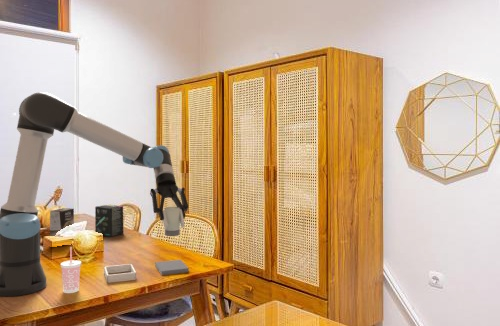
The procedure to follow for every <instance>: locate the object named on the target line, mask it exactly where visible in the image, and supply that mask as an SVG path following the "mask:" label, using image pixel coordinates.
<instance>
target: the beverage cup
mask: <svg viewBox="0 0 500 326" xmlns="http://www.w3.org/2000/svg"><path fill="white" fill-rule="evenodd" d="M69 249H70V251H69V253H70V254H69V255H70V257H69V260H65V261H63V262H61V263H60V267H61V276H62V289H63V293H64V294H73V293H76V292H78V291H80V278H81V277H80V275H81V266H82V261H81V260H78V259H77V260H75V259H73V255H72V254H73V247H72V246H70V247H69Z"/></svg>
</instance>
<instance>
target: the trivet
mask: <svg viewBox="0 0 500 326" xmlns="http://www.w3.org/2000/svg"><path fill="white" fill-rule="evenodd" d="M154 266H155V269H156V270H157V271H158V272H159V273H160V275H161V276H166V275H168V276H169V275H175V274H184V273H189V272H190V270H189V269H190V268H189V267H188V266H187V265H186V264H185V263H184V261H182V260H181V259H173V260H165V261H154Z"/></svg>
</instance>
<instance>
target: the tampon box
mask: <svg viewBox="0 0 500 326" xmlns="http://www.w3.org/2000/svg"><path fill="white" fill-rule="evenodd" d="M94 208H95V209H94V210H95V211H94V213H95V215H94V217H95V219H94V221H95V222H94V223H95V227H94V229H95V230H94V232H98V233H102V234H103V235H104V236H103V237H106V238H107V237H108V238H111V237H115V236H121V235H124V234H125V233H124V206H122V205H114V204H103V205H99V206H98V205H97V206H95V207H94Z"/></svg>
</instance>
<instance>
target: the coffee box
mask: <svg viewBox="0 0 500 326" xmlns="http://www.w3.org/2000/svg"><path fill="white" fill-rule="evenodd" d="M74 209H75V208H68V207H67V208H65V207H64V208H63V207H62V208H58V209H54V210H50V211H49V237H50V236H55V235H56V233H57V232H58V231H60V230H61V229H63V228H65V227H66V226H69V225H72V224H74V225H75V222H74V221H75V214H74V213H75V210H74Z"/></svg>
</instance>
